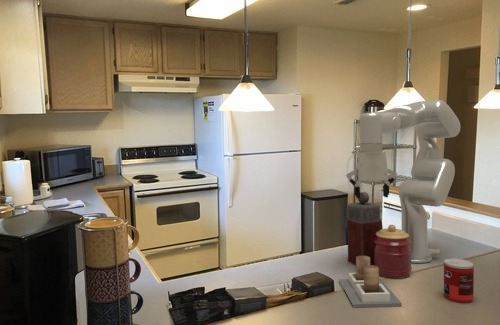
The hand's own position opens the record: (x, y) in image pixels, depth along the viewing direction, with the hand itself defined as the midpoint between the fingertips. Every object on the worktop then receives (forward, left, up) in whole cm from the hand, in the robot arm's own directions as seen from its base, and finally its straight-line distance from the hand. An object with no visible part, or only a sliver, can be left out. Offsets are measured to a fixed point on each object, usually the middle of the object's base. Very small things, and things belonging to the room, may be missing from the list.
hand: (371, 197), depth 137 cm
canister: (-8, -3, -28) cm, 30 cm away
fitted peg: (+6, +10, -27) cm, 30 cm away
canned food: (-20, +20, -28) cm, 40 cm away
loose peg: (+6, +20, -27) cm, 34 cm away
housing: (+6, +15, -28) cm, 33 cm away
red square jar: (-2, -15, -28) cm, 32 cm away
